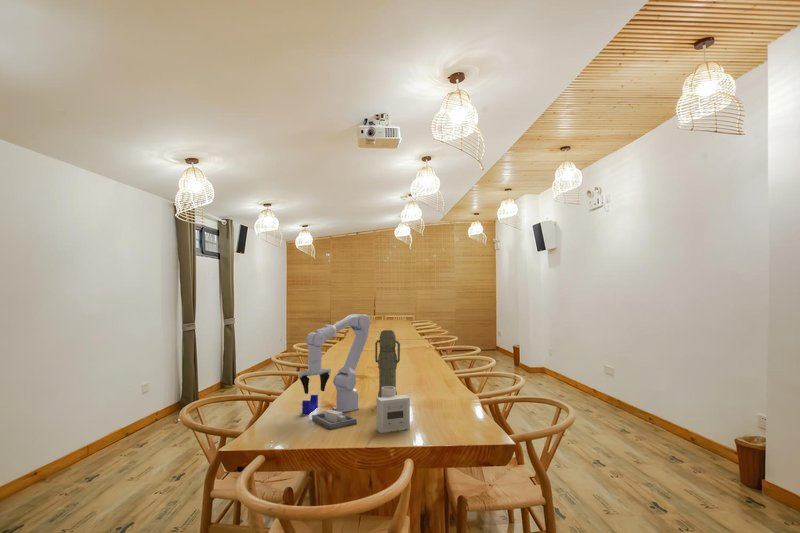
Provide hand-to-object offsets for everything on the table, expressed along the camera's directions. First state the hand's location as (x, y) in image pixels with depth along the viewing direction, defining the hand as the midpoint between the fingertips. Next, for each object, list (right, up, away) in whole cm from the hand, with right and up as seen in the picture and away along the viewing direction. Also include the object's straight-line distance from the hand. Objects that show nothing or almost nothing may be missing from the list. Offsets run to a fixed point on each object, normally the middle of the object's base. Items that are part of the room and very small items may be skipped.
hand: (314, 392), depth 191 cm
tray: (+10, -10, -8) cm, 16 cm away
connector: (+10, -10, -8) cm, 16 cm away
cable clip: (-4, -11, +8) cm, 15 cm away
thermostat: (+32, -10, -14) cm, 37 cm away
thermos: (+31, -12, +18) cm, 38 cm away
